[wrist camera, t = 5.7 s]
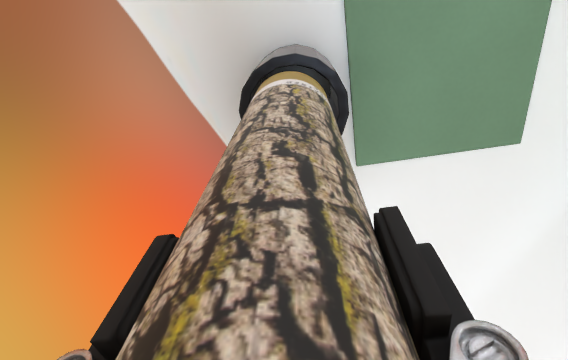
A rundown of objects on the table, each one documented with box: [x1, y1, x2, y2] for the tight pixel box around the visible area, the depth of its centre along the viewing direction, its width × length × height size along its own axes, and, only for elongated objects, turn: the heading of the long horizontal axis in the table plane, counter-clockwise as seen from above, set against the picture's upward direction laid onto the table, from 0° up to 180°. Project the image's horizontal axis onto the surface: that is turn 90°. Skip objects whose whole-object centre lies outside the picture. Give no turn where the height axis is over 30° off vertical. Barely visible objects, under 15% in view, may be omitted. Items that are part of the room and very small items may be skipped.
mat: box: [344, 0, 552, 166], centre depth 33 cm, size 20×20×1 cm
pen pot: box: [239, 44, 349, 135], centre depth 31 cm, size 10×10×9 cm
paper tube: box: [116, 71, 419, 360], centre depth 15 cm, size 7×7×25 cm
